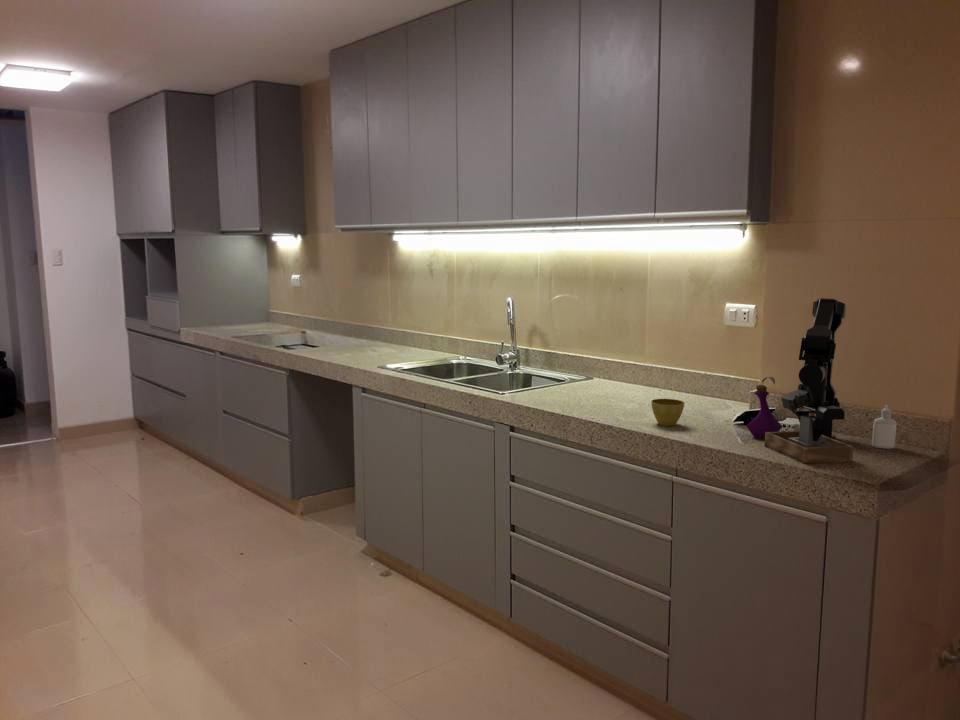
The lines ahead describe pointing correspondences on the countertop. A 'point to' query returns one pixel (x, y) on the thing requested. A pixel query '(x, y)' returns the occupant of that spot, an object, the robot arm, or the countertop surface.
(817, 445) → the collar
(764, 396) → the perfume bottle
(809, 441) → the grey box with knob
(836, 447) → the walnut box
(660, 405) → the flower pot
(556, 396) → the countertop surface
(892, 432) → the eye dropper bottle
